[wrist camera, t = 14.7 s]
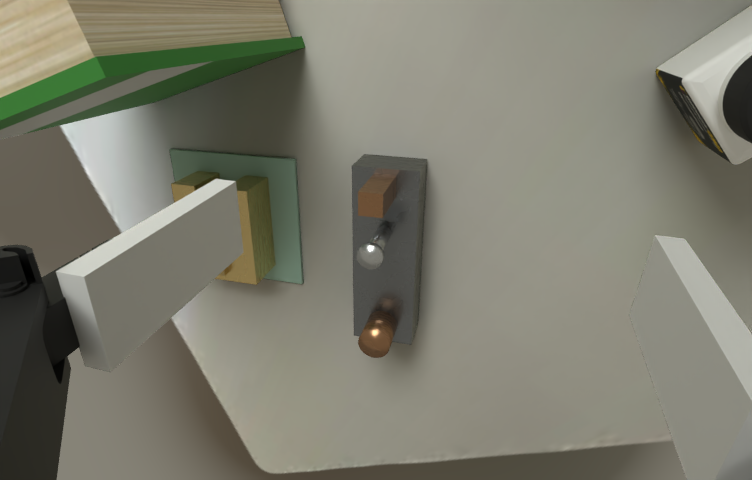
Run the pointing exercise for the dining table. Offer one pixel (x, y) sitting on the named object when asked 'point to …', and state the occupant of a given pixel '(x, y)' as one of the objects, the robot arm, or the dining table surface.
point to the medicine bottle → (716, 87)
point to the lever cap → (243, 224)
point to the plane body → (387, 249)
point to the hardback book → (124, 53)
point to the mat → (281, 199)
